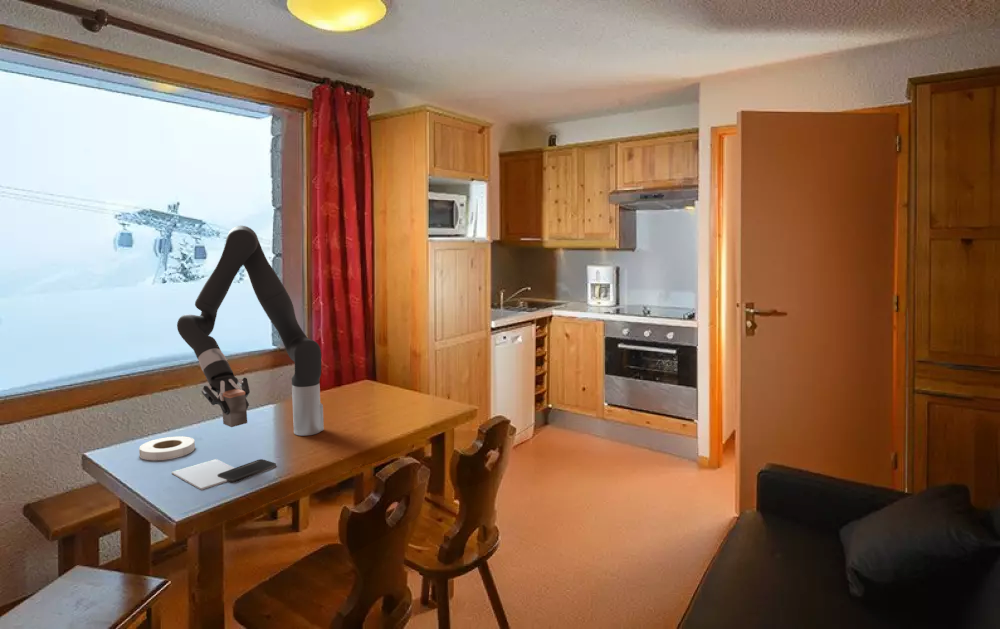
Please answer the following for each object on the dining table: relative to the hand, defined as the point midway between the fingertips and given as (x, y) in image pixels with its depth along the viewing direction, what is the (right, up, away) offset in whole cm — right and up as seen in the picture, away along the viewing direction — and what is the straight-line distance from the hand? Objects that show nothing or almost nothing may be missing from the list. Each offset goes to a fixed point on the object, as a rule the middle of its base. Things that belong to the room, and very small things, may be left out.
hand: (237, 410), depth 182 cm
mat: (-4, -17, -9) cm, 20 cm away
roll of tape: (-26, -15, +10) cm, 32 cm away
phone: (+6, -17, -7) cm, 19 cm away
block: (-1, -4, +2) cm, 5 cm away
